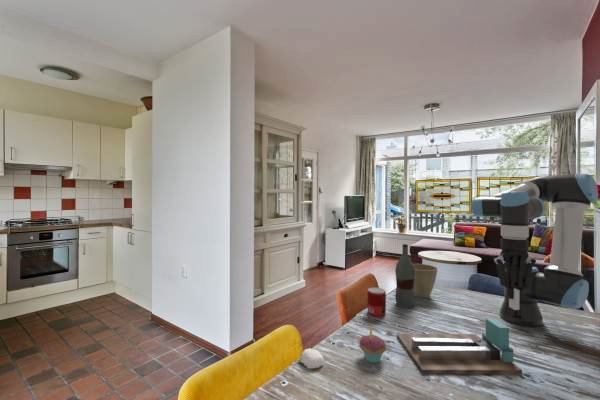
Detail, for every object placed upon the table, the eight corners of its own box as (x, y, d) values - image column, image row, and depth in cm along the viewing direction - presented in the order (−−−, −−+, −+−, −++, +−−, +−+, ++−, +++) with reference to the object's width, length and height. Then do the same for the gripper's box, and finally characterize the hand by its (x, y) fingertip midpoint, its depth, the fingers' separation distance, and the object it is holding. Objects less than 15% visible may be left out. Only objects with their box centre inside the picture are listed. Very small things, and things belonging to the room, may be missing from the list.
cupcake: (381, 369, 89) (381, 330, 89) (355, 360, 93) (355, 324, 93) (388, 356, 96) (388, 320, 96) (364, 349, 101) (364, 315, 101)
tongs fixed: (485, 348, 99) (485, 338, 99) (499, 360, 92) (500, 350, 92) (412, 347, 99) (412, 338, 99) (421, 359, 92) (421, 349, 92)
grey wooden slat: (470, 347, 99) (470, 338, 99) (474, 351, 97) (474, 342, 97) (411, 346, 100) (411, 337, 100) (414, 349, 98) (414, 340, 98)
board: (475, 337, 110) (475, 334, 110) (522, 374, 87) (522, 370, 87) (396, 336, 110) (396, 333, 110) (422, 373, 87) (422, 369, 87)
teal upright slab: (490, 344, 101) (490, 316, 101) (513, 362, 90) (513, 330, 90) (482, 344, 101) (482, 316, 101) (503, 362, 90) (503, 330, 90)
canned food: (386, 318, 127) (386, 293, 127) (367, 316, 129) (367, 292, 129) (384, 311, 135) (385, 287, 135) (367, 310, 136) (367, 286, 136)
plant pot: (410, 300, 149) (410, 269, 149) (405, 291, 164) (405, 263, 164) (441, 301, 147) (441, 270, 147) (432, 292, 162) (432, 264, 162)
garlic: (297, 359, 95) (297, 348, 95) (315, 354, 98) (315, 343, 98) (308, 372, 87) (308, 360, 87) (327, 367, 90) (327, 355, 90)
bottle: (392, 301, 147) (393, 243, 147) (410, 301, 147) (411, 243, 147) (398, 308, 138) (398, 246, 138) (417, 308, 138) (418, 246, 138)
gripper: (525, 236, 100) (525, 304, 100) (487, 236, 100) (487, 304, 100) (543, 239, 92) (543, 312, 92) (502, 239, 92) (502, 312, 92)
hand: (514, 308), depth 96 cm, fingers closed
